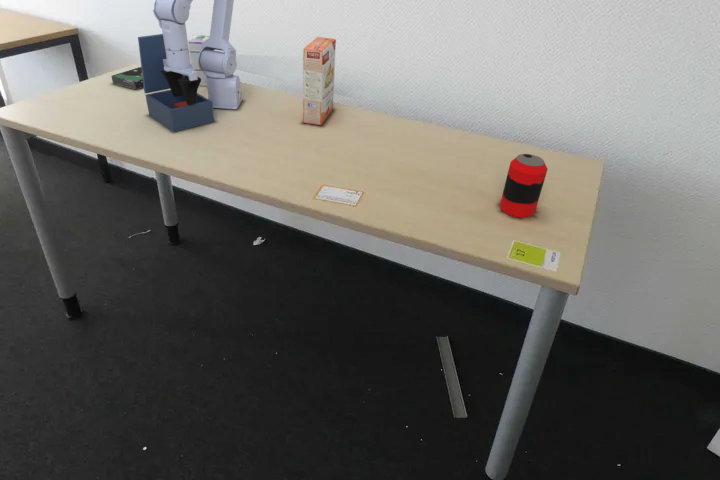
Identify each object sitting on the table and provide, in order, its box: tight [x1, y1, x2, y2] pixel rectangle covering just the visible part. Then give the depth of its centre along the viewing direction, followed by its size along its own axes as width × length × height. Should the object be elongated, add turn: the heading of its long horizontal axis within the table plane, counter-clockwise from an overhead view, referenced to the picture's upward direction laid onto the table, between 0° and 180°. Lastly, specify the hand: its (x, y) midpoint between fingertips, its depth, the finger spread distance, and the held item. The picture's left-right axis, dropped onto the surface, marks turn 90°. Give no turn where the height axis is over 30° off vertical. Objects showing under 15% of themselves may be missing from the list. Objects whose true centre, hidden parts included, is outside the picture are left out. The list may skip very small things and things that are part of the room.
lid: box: [137, 33, 185, 94], centre depth 139 cm, size 15×12×1 cm
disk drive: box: [111, 66, 144, 90], centre depth 166 cm, size 10×3×15 cm
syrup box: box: [187, 34, 210, 87], centre depth 164 cm, size 6×6×14 cm
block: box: [174, 101, 188, 109], centre depth 139 cm, size 4×4×4 cm
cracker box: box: [302, 36, 337, 126], centre depth 144 cm, size 14×6×21 cm, turn 168°
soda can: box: [499, 153, 548, 219], centre depth 109 cm, size 8×8×12 cm
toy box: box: [145, 89, 215, 133], centre depth 141 cm, size 15×12×6 cm
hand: (184, 100), depth 138 cm, fingers open, 7 cm apart
